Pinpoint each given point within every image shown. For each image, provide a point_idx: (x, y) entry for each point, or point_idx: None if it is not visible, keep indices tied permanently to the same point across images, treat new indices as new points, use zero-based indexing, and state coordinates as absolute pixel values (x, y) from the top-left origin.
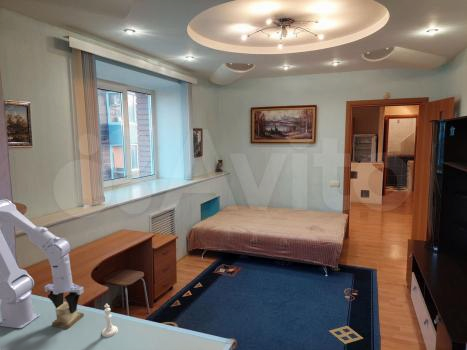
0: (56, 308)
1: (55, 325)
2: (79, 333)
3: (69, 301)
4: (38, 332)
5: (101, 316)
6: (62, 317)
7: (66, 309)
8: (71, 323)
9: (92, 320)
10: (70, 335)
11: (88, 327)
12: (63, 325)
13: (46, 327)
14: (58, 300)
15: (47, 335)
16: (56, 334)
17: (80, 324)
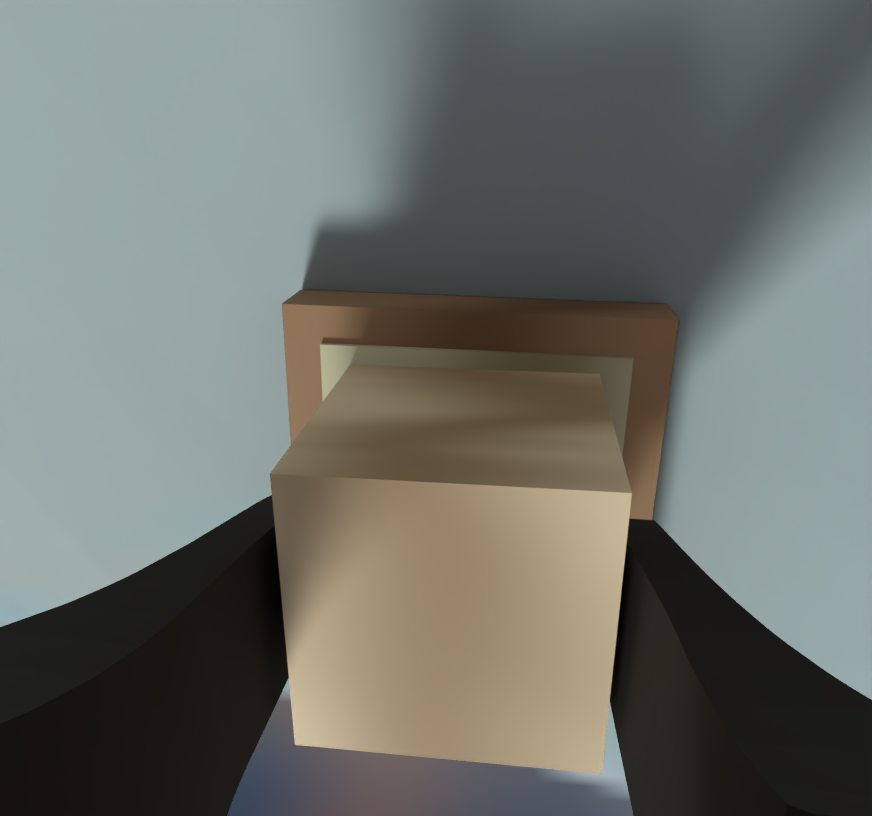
0: (624, 521)
1: (598, 306)
2: (17, 183)
3: (16, 649)
4: (819, 78)
5: (53, 598)
6: (456, 400)
7: (297, 501)
8: (289, 358)
9: (101, 506)
10: (117, 105)
11: (13, 346)
12: (415, 304)
13: (759, 248)
14: (668, 756)
15: (549, 23)
16: (393, 86)
17: (199, 400)
